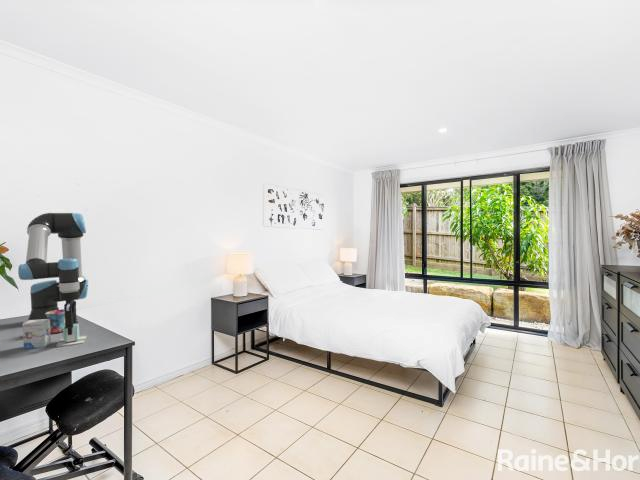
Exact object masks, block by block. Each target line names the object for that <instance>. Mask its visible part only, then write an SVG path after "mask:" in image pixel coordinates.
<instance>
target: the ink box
mask: <svg viewBox="0 0 640 480" xmlns="http://www.w3.org/2000/svg"><path fill="white" fill-rule="evenodd" d="M51 336H52V335H51V333H50V320H49V319H41V320H29V321H28V320H27V321H25V322H22V340H23V350H26V349H35V348H37V349H38V348H46V347H47V346H49V345H50V344H51V343H52V339H51Z"/></svg>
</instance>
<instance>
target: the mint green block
mask: <svg viewBox="0 0 640 480" xmlns="http://www.w3.org/2000/svg"><path fill="white" fill-rule="evenodd" d="M64 327H65V326H64ZM73 327H74V341H75V340H78V338H79V336H80V323H75V324H73ZM62 334H63V336H62V339H64V342H67V332H66V328H65V329H64V328H63V332H62Z"/></svg>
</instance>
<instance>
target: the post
mask: <svg viewBox="0 0 640 480" xmlns="http://www.w3.org/2000/svg"><path fill="white" fill-rule="evenodd" d="M87 336H88V335H87V334H86V335H79V338H78V340H75V341H70V342H64V339H63V338H60V340H59V341H58V343H57V344H56V346H55V348H63V347H68V346H69V347H70V346H74V345H80V344H81V345H82V344H83V343H84V342H85V340H86V339H87Z"/></svg>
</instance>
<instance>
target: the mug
mask: <svg viewBox="0 0 640 480" xmlns="http://www.w3.org/2000/svg"><path fill="white" fill-rule="evenodd" d="M45 314H46V316H47V318H48V319H49V320H50V334H58V333H61V332H62V333H63V328H64V326H65V310H64V308H62V309H59V310H54V311H49V312H46V313H45Z"/></svg>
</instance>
